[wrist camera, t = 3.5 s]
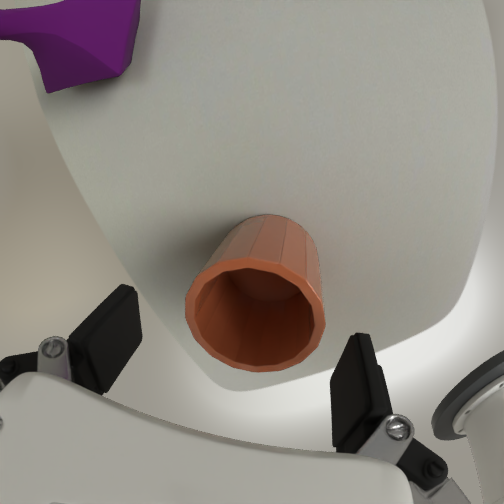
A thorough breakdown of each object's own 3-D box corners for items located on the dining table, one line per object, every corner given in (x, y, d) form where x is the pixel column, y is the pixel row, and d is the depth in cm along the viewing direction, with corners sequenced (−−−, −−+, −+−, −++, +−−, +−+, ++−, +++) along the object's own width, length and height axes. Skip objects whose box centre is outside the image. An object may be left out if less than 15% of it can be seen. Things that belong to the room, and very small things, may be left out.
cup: (328, 225, 17) (342, 275, 11) (305, 310, 20) (304, 381, 14) (227, 206, 18) (186, 244, 12) (218, 292, 21) (185, 355, 14)
